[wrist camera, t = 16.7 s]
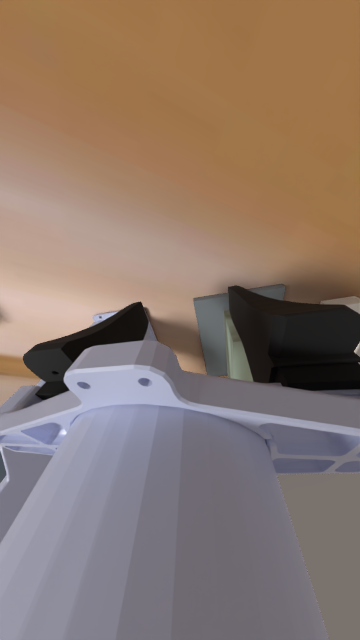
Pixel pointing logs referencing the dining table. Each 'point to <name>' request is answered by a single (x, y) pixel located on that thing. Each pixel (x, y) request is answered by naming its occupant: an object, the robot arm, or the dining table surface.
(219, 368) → the slate board
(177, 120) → the dining table surface
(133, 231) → the dining table surface
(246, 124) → the dining table surface
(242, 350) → the block
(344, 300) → the chalk tile
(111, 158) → the dining table surface
